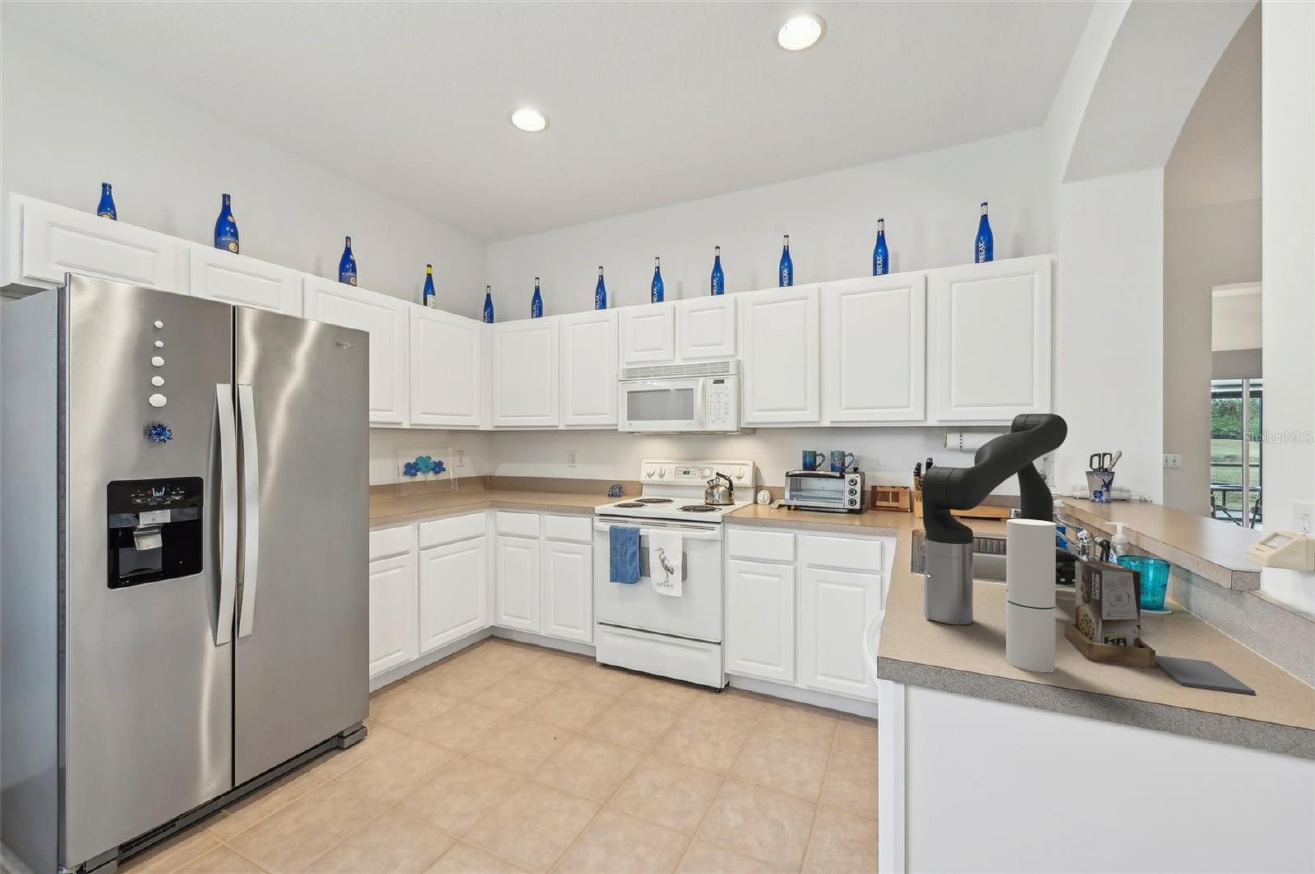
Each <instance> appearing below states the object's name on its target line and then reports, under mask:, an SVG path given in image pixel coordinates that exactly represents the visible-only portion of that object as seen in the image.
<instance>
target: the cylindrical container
mask: <svg viewBox="0 0 1315 874" xmlns="http://www.w3.org/2000/svg"><path fill="white" fill-rule="evenodd" d="M1056 535H1057V524H1056V523H1055V522H1054V523H1052V522H1048V521H1041V520H1030V519H1021V518H1014V519H1013V518H1009V519H1006V591H1005V595H1006V596H1005V597H1006V600H1005V601H1006V604H1005V605H1006V611H1005V613H1006V614H1005V615H1006V621H1005V622H1006V623H1005V624H1006V625H1005V629H1006V631H1005V635H1006V636H1005V639H1006V641H1005V643H1006V644H1005V646H1006V647H1005V654H1006V655H1005V661H1006V660H1007V661H1008V662H1009V663H1010V665H1011V666H1013V665H1015V666H1017V667H1016V668H1018V667H1020V668H1023V669H1022V670H1024V669H1025V671H1028V670H1033V671H1039V672H1038V673H1041V672H1048V673H1052V672H1051V671H1053V672H1055V671H1056ZM1007 661H1006V662H1007ZM1008 662H1007V663H1008ZM1009 663H1008V664H1009ZM1015 666H1014V667H1015ZM1020 668H1019V669H1020ZM1033 671H1032V672H1033Z"/></svg>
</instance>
